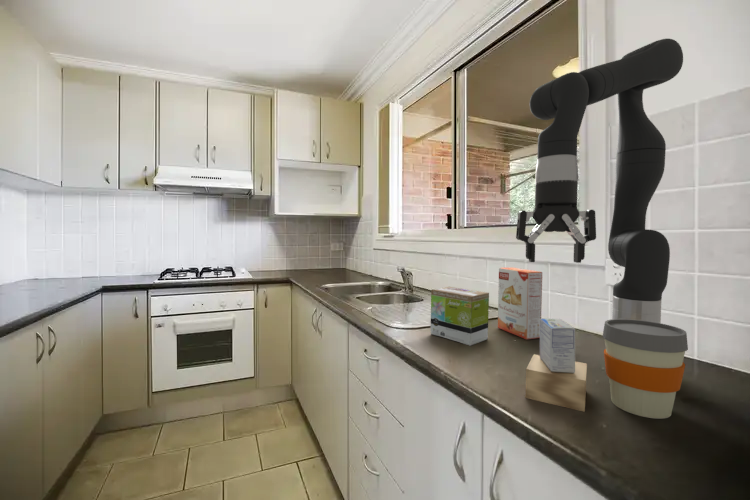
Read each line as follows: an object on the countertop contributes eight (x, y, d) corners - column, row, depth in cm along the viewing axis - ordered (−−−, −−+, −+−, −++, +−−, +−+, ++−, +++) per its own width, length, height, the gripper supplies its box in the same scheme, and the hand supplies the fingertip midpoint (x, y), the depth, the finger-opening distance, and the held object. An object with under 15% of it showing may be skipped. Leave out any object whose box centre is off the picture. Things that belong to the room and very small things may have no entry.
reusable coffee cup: (592, 405, 66) (595, 326, 65) (609, 385, 75) (611, 315, 74) (680, 432, 57) (685, 341, 56) (687, 406, 66) (691, 327, 65)
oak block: (585, 392, 72) (586, 363, 72) (584, 413, 64) (585, 380, 63) (532, 381, 77) (533, 354, 77) (525, 399, 69) (526, 369, 69)
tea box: (429, 335, 112) (429, 288, 111) (448, 329, 119) (449, 285, 118) (470, 346, 101) (471, 295, 100) (489, 339, 107) (490, 291, 107)
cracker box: (496, 328, 120) (497, 267, 119) (511, 327, 122) (512, 266, 121) (525, 340, 107) (527, 271, 106) (541, 338, 109) (543, 271, 108)
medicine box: (575, 374, 66) (576, 328, 66) (550, 372, 67) (551, 327, 67) (561, 359, 74) (562, 318, 74) (538, 358, 75) (539, 317, 74)
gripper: (587, 183, 73) (585, 261, 74) (514, 184, 76) (513, 260, 76) (603, 177, 65) (601, 264, 66) (522, 179, 68) (520, 263, 69)
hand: (554, 262), depth 71 cm, fingers open, 8 cm apart
